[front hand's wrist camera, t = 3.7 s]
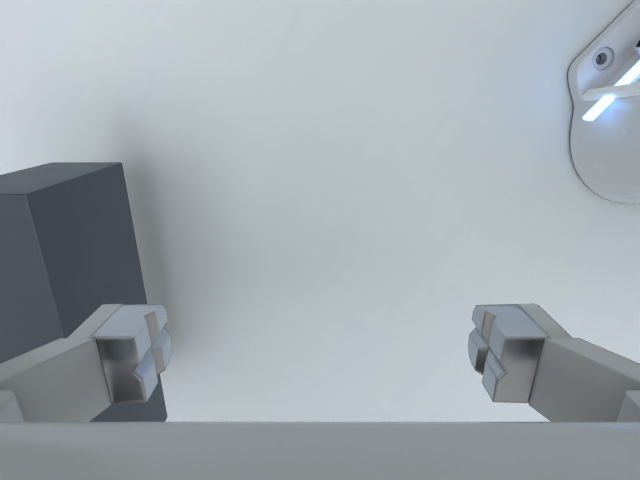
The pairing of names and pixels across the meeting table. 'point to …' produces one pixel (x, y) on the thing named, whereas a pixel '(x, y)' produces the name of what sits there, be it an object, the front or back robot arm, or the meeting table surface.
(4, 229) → the bar
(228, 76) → the meeting table surface
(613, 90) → the front robot arm
